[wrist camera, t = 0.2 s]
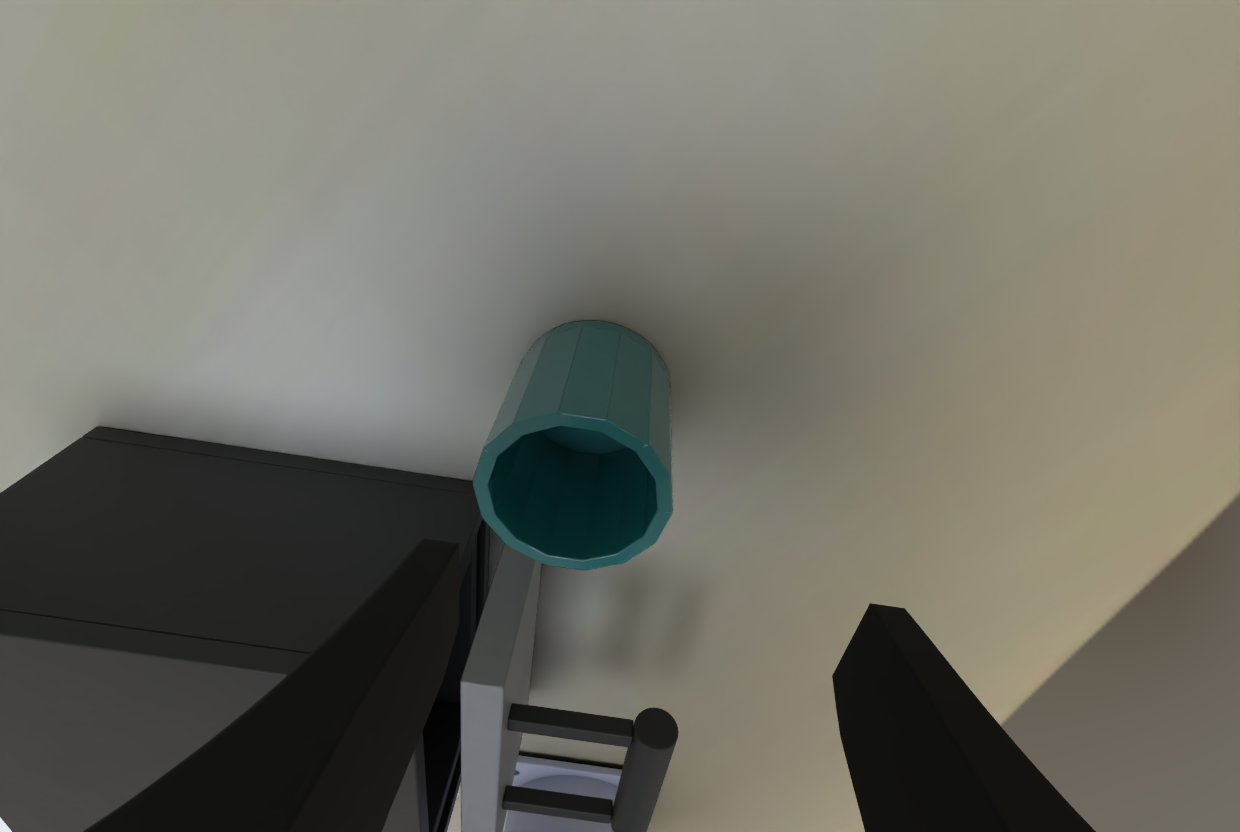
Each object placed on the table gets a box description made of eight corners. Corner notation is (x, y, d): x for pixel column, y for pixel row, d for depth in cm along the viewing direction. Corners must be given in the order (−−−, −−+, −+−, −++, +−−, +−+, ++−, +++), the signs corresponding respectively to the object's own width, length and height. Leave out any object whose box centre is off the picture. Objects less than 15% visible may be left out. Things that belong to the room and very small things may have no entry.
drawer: (690, 541, 22) (699, 716, 17) (641, 725, 28) (635, 897, 23) (173, 465, 22) (0, 617, 16) (237, 668, 28) (129, 829, 22)
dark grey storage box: (491, 483, 22) (410, 692, 15) (484, 693, 29) (426, 904, 22) (96, 425, 22) (-172, 610, 15) (183, 650, 29) (26, 851, 22)
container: (658, 463, 21) (656, 581, 17) (513, 441, 21) (471, 554, 17) (685, 333, 19) (692, 431, 14) (521, 307, 19) (472, 399, 14)
